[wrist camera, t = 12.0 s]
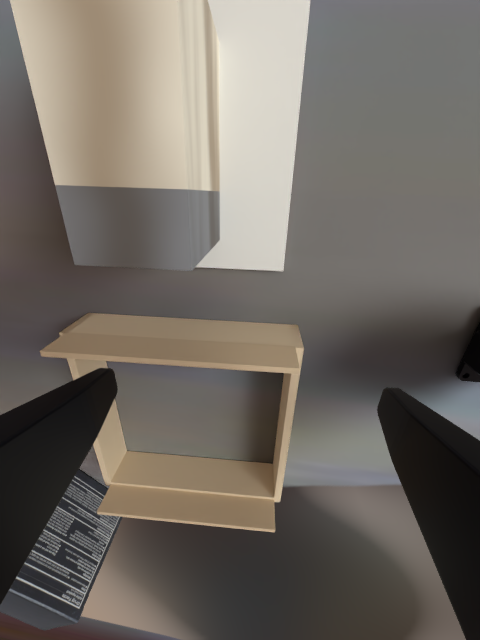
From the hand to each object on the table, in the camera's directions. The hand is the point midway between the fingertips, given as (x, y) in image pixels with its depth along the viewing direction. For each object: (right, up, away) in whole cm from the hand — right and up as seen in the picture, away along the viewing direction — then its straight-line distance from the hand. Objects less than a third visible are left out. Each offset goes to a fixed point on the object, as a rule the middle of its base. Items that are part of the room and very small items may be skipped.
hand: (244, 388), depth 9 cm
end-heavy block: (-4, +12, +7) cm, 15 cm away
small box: (-20, -19, +24) cm, 37 cm away
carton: (-4, -5, +16) cm, 18 cm away
